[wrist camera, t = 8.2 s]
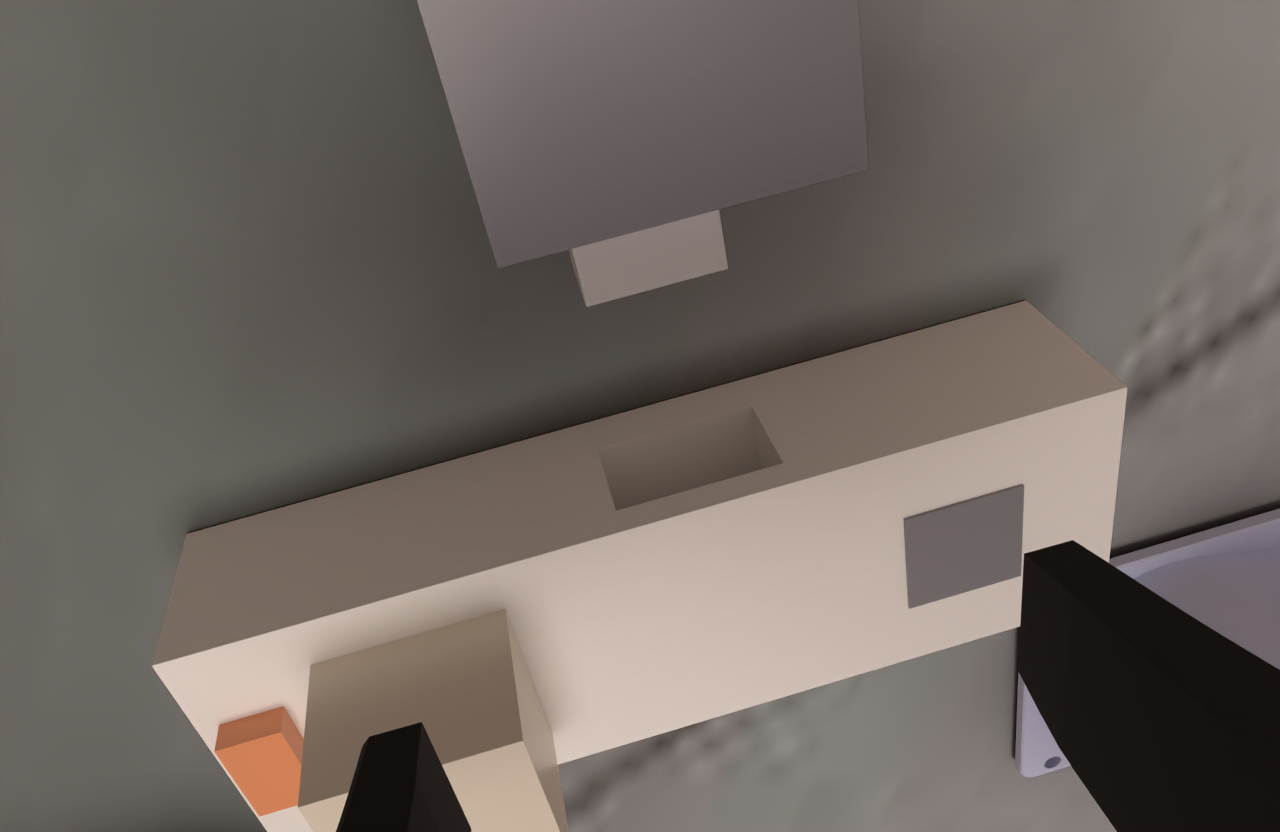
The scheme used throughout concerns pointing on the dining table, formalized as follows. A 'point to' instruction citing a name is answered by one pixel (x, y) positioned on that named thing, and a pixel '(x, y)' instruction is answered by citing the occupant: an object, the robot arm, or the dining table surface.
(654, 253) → the block
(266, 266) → the dining table surface
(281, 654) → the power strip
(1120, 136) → the dining table surface
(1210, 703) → the robot arm
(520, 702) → the beige plug
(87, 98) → the dining table surface
